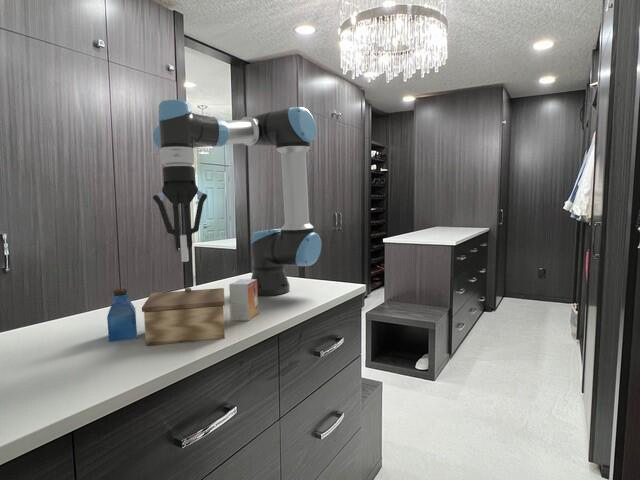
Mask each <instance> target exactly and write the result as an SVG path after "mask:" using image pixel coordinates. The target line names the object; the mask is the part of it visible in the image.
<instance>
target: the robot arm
mask: <svg viewBox="0 0 640 480" xmlns="http://www.w3.org/2000/svg"><path fill="white" fill-rule="evenodd" d="M316 137H317V124H316V122H315V119H314V117H313V115H312V114H311V111H309V109H307V108H305V107H302V106H296V107H293V106H292V107H289V108H284V109H280V110H273V111H267V112H264V113H259V114H256V115H253V116H244V117H242V118H241V119H235V120H223V119H222V118H218V117H215V116H210V115H209V116H208V115H203V114H198V113H194V112H192V108H191V104H190V103H189V102H187V101H185V100H181V99H166V100H162V101H161V102H159V104H158V125H157V126H156V127H155V128H154V129H153V132H152V138H153V142H154V144H155V145H156V147H157V148H158V149H159V150H161V151H160V152H161V162H162V163H161V164H162V165H163V168H162V180H163V186H162V188H161V191H160V192H159V193H157V194H155V195H153V196H152V199H153V200H154V202H155V203H156V204H157V205H158V209H159V212H160V215H161V218H162V220H163V223H164V227H165V230H166V232H167V234H169V235H170V234H171V235H174V239H175V248H176V249H180V256H181V262H182V263H185V262H189V260H190V258H189V248H190V249H191V248H192V247H193V239H192V238H193V236H192V235H193V234H195V233H197V232H199V230H200V225H201V219H202V213H203V208H204V204H205V201H206V200H207V198H208V195H207V194H206V193H204V192H202V191H201V190H199V187H198V186H197V183H196V181H197V180H196V169H195V167H194V166H193V165H194V164H195V153H194V151H195V150H194V149H196V148H197V149H198V148H207V147H213V148H214V147H223V146H230V145H238V144H243V145H245V146H249V147H250V146H267V147H272V146H273V147H275V149H276V151H277V152H278V153H280V155H281V156H280V158H281V159H280V160H281V177H282V193H283V194H282V195H283V197H282V198H283V199H282V200H283V214H284V223H283V226H281V228H273V229H267V230H261V231H260V230H259V231H255V232H253V233H252V234H251V259H252V262H251V263H252V273H251V278H250V279H257V293H258V296H263V297H264V296H265V297H267V296H276V295H283V294H287V293H288V292H290V291H291V290H290V289H291V288H290V282H289V280H288V277H287V274H286V271H285V266H298V267H310V266H312V265H314V264H315V263H316V262H317V261H318V259H319V258H320V255H321V251H322V239H321V238H320V237H321V236H320V235H319V234H318V233H316V232H315V229H314V228H315V227H314V226H313V225H312V224H311V223H310V212H309V191H308V170H307V169H308V168H307V166H308V165H307V152H308V151H309V150H310V149H311V142H313V141H314V140H315V138H316ZM196 195H197V197H196ZM165 197H166V198H167V200H168V201H169V202H170V203H171V204H172V211H173V226H172V223H171V219H170V217H169V214H168V211H167V208H166V205H165V202H164V201H165ZM195 197H196V198H197V201H198V202H197V207H196V212H195V218H194V224H193V227H192V220H191V219H192V218H191V203H192V201H193V200H194V199H195ZM180 204H182V205H183V212H184V226H185V227H184V228H185V234H182V230H181V229H182V228H181V216H180ZM173 227H174V228H173Z"/></svg>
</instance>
